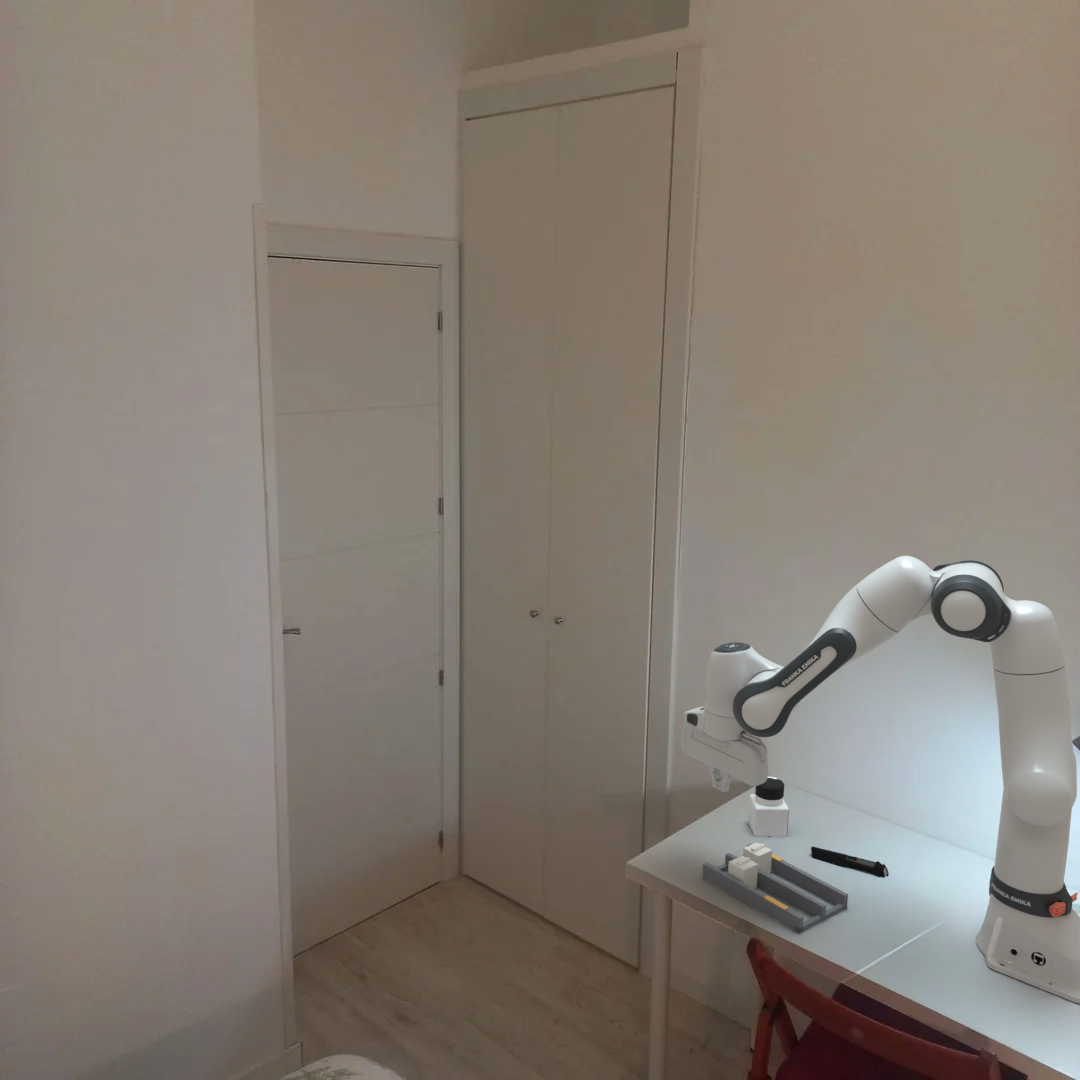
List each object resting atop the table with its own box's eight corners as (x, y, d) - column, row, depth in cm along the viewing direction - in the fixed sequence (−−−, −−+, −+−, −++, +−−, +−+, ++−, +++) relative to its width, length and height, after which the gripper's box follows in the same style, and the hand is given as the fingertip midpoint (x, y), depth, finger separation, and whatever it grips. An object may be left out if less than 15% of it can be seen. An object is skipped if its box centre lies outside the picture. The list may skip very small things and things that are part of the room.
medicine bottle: (787, 839, 222) (790, 787, 219) (754, 839, 222) (757, 787, 219) (779, 823, 229) (782, 773, 226) (747, 823, 229) (750, 773, 226)
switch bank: (846, 911, 194) (848, 893, 194) (798, 936, 186) (800, 917, 185) (749, 859, 213) (750, 842, 212) (702, 880, 205) (703, 862, 204)
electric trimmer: (813, 855, 216) (814, 841, 215) (889, 875, 208) (890, 860, 208) (808, 863, 213) (808, 849, 212) (885, 883, 205) (886, 869, 204)
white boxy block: (756, 887, 201) (758, 861, 200) (742, 894, 199) (744, 867, 197) (741, 878, 204) (742, 853, 203) (727, 885, 202) (728, 859, 201)
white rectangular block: (770, 873, 206) (772, 847, 205) (757, 879, 204) (759, 853, 203) (755, 864, 209) (757, 839, 208) (742, 870, 207) (743, 845, 206)
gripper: (778, 738, 194) (772, 805, 197) (699, 704, 210) (695, 766, 213) (756, 745, 190) (749, 814, 193) (677, 710, 206) (673, 774, 209)
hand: (720, 789), depth 203 cm, fingers closed
